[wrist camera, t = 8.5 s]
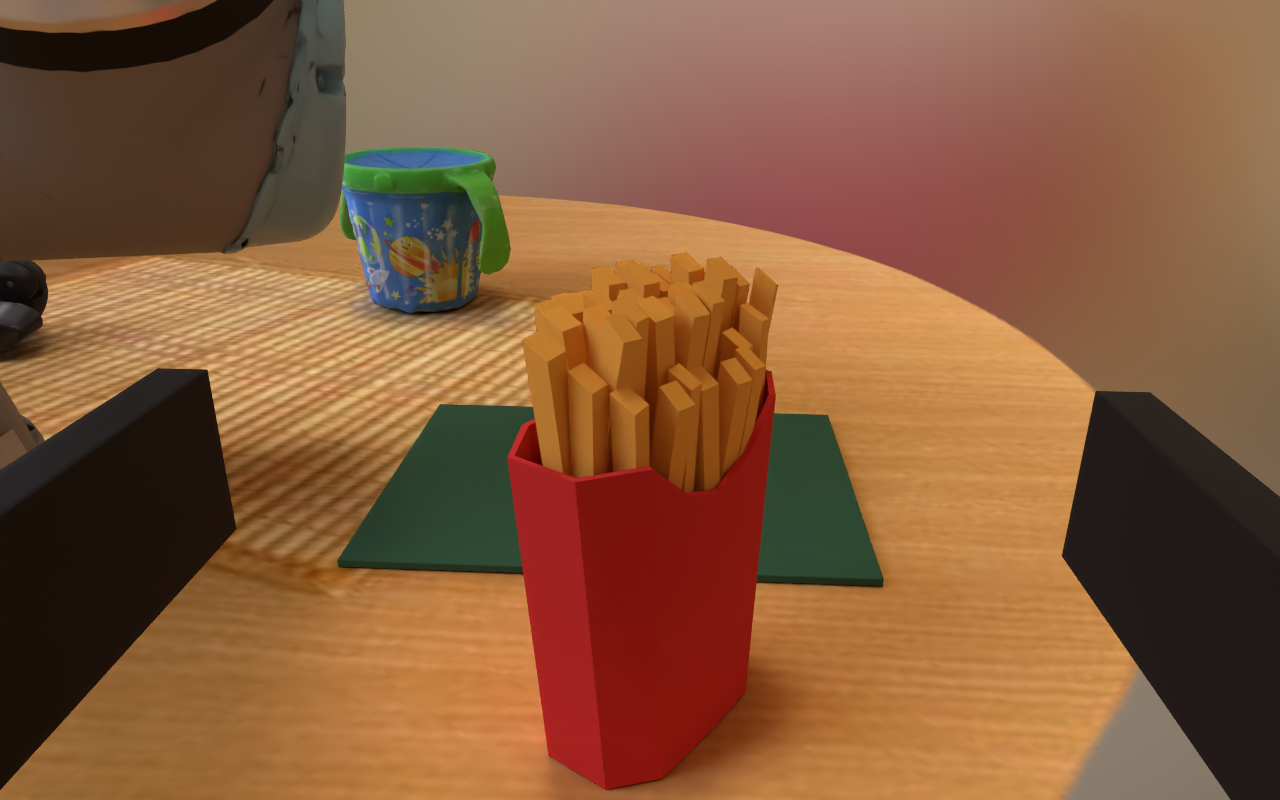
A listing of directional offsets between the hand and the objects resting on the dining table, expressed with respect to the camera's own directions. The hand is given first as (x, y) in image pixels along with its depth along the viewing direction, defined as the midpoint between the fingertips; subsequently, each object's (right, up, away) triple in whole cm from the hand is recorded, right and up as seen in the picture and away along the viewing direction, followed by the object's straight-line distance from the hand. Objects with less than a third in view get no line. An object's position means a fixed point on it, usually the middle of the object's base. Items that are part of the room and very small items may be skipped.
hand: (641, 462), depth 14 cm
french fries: (0, -8, +14) cm, 16 cm away
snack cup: (-15, +8, +53) cm, 55 cm away
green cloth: (-1, -3, +27) cm, 27 cm away
